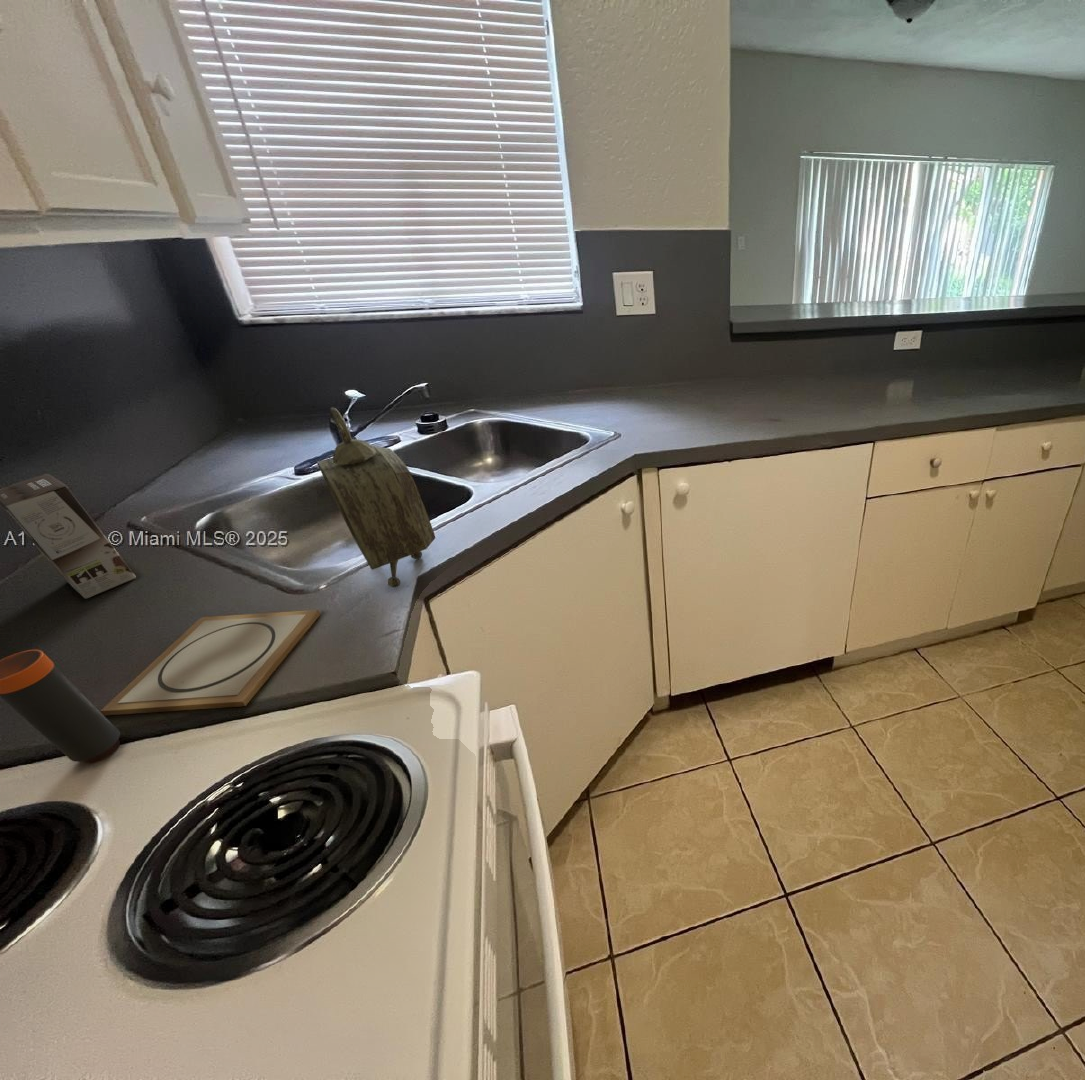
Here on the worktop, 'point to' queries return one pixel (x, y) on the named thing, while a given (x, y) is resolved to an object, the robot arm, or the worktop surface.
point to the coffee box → (65, 534)
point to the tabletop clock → (377, 501)
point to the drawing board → (215, 663)
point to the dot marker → (56, 707)
